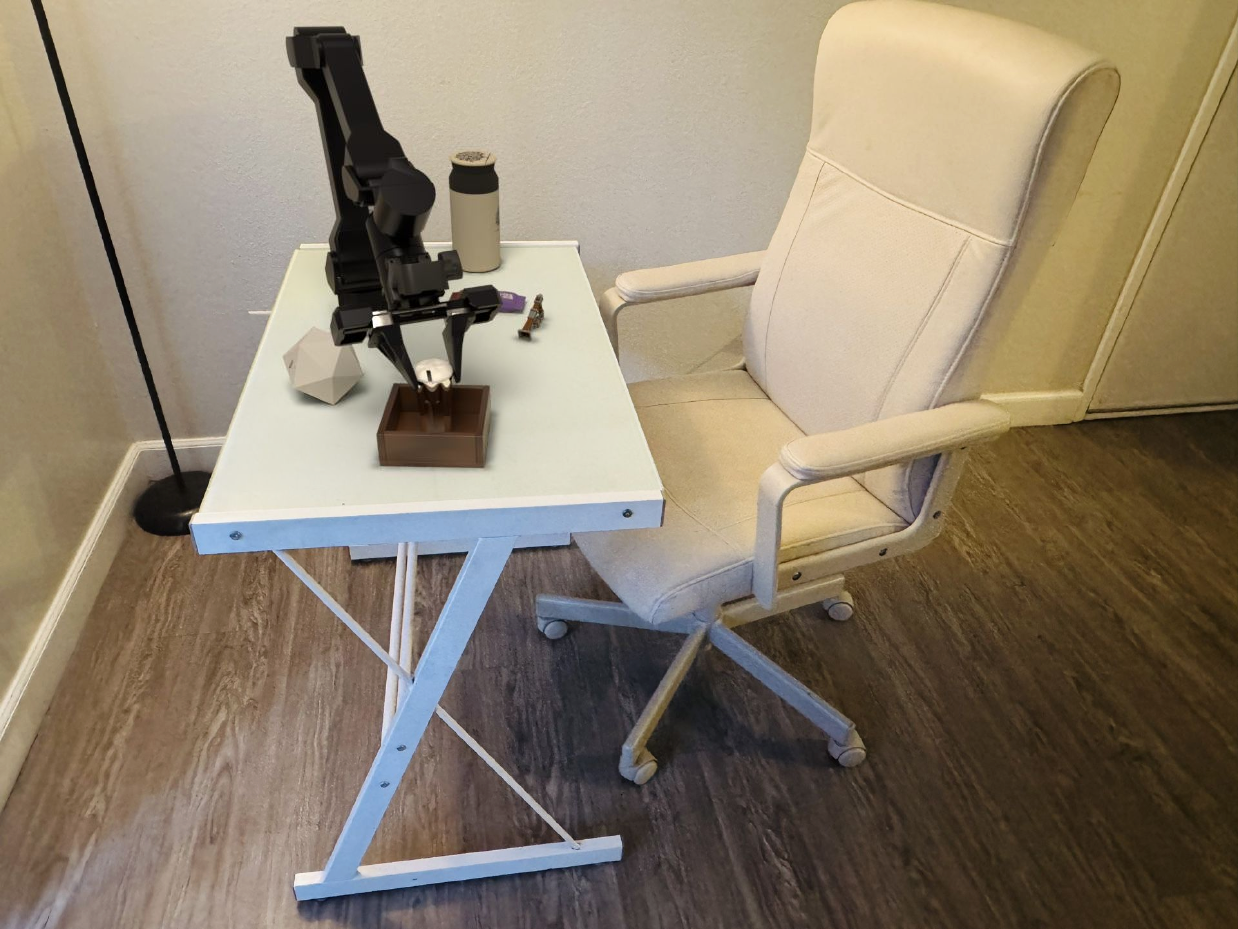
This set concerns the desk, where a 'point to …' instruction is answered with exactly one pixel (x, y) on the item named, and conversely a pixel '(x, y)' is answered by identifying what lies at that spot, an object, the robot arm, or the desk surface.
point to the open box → (414, 447)
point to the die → (322, 366)
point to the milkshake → (434, 394)
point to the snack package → (503, 300)
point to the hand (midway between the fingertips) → (437, 386)
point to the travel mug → (475, 210)
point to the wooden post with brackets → (532, 318)
